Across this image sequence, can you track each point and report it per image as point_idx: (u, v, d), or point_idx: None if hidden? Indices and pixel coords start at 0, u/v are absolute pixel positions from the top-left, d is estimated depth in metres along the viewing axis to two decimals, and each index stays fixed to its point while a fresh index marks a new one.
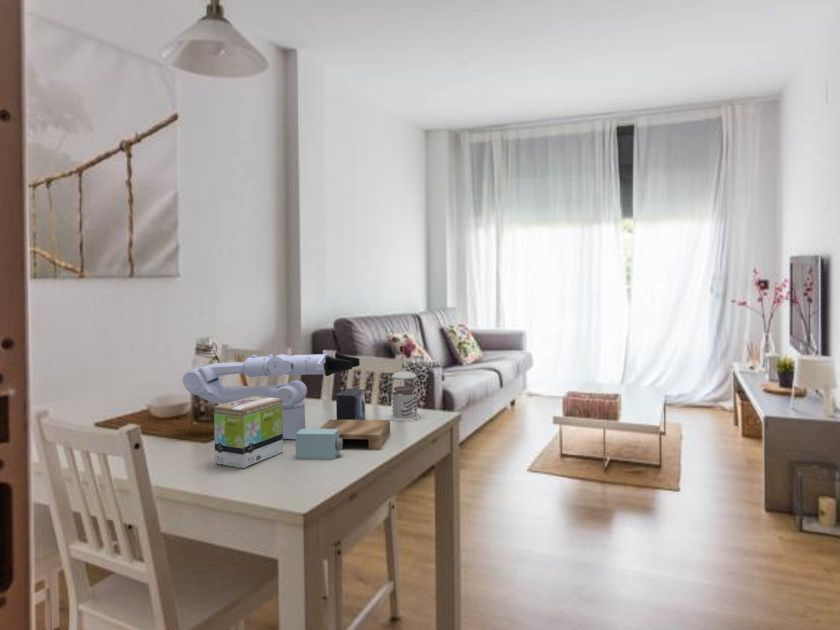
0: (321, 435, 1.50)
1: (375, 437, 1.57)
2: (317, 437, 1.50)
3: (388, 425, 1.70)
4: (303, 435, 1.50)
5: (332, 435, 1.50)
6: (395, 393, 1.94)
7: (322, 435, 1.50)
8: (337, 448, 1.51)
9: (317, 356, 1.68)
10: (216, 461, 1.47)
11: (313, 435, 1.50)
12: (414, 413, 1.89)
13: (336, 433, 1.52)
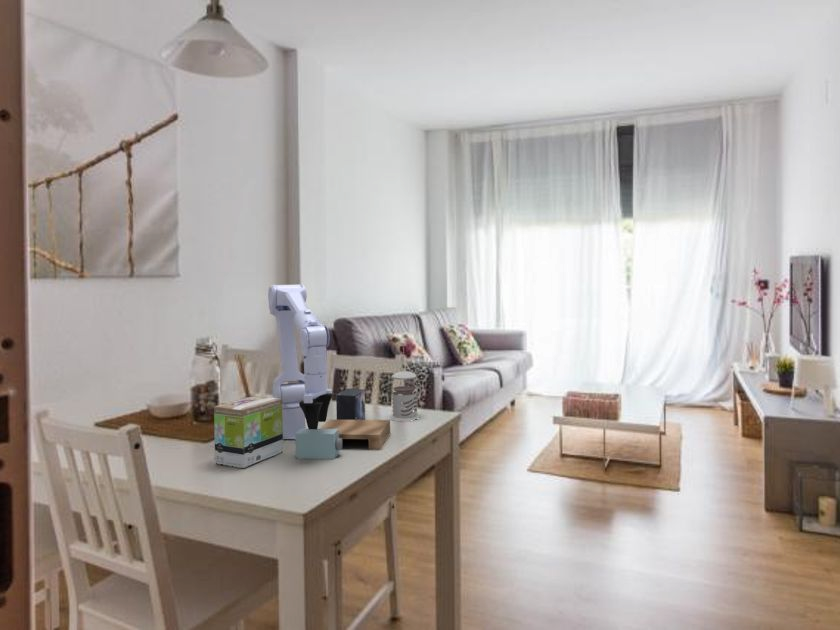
0: (321, 435, 1.50)
1: (375, 437, 1.57)
2: (317, 437, 1.50)
3: (388, 425, 1.70)
4: (303, 435, 1.51)
5: (332, 435, 1.50)
6: (395, 393, 1.94)
7: (322, 435, 1.50)
8: (337, 448, 1.51)
9: (323, 385, 1.50)
10: (216, 461, 1.47)
11: (313, 435, 1.50)
12: (414, 413, 1.89)
13: (336, 433, 1.52)
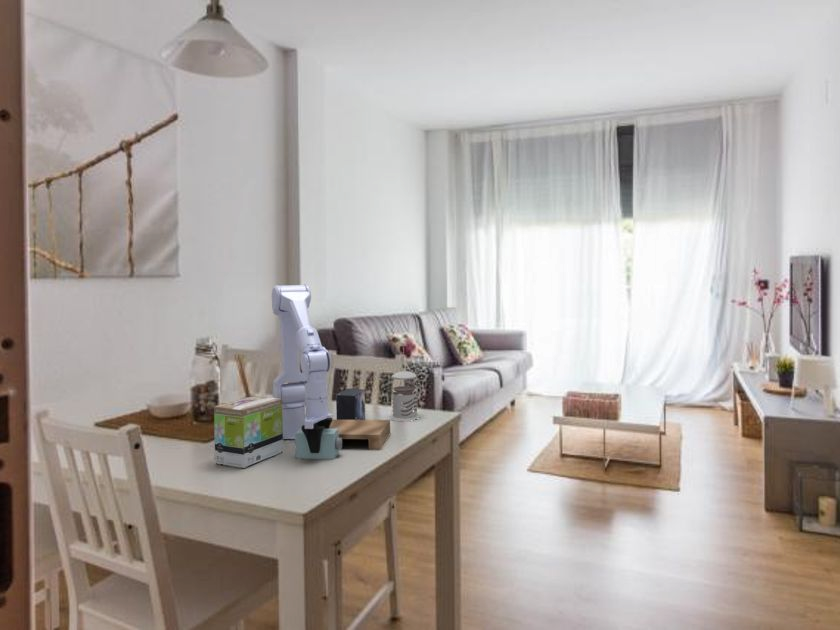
0: None
1: (375, 437, 1.57)
2: None
3: (388, 425, 1.70)
4: (303, 435, 1.50)
5: (332, 435, 1.50)
6: (395, 393, 1.94)
7: (322, 435, 1.50)
8: (337, 448, 1.51)
9: (324, 409, 1.50)
10: (216, 461, 1.47)
11: None
12: (414, 413, 1.89)
13: (336, 433, 1.52)
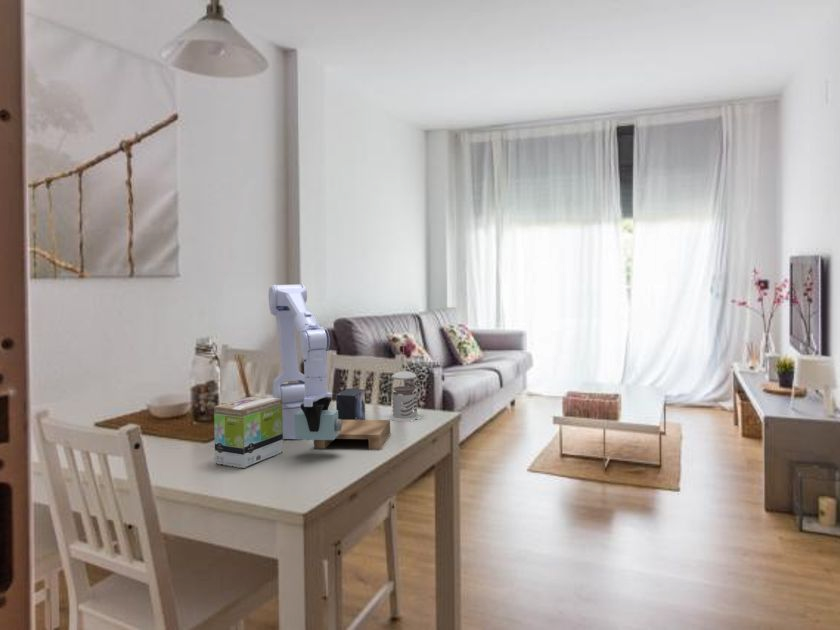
0: (320, 416, 1.50)
1: (375, 437, 1.57)
2: None
3: (388, 425, 1.70)
4: (302, 416, 1.50)
5: (331, 416, 1.49)
6: (395, 393, 1.94)
7: (321, 416, 1.50)
8: (336, 429, 1.51)
9: (323, 388, 1.50)
10: (216, 461, 1.47)
11: None
12: (414, 413, 1.89)
13: (335, 414, 1.52)
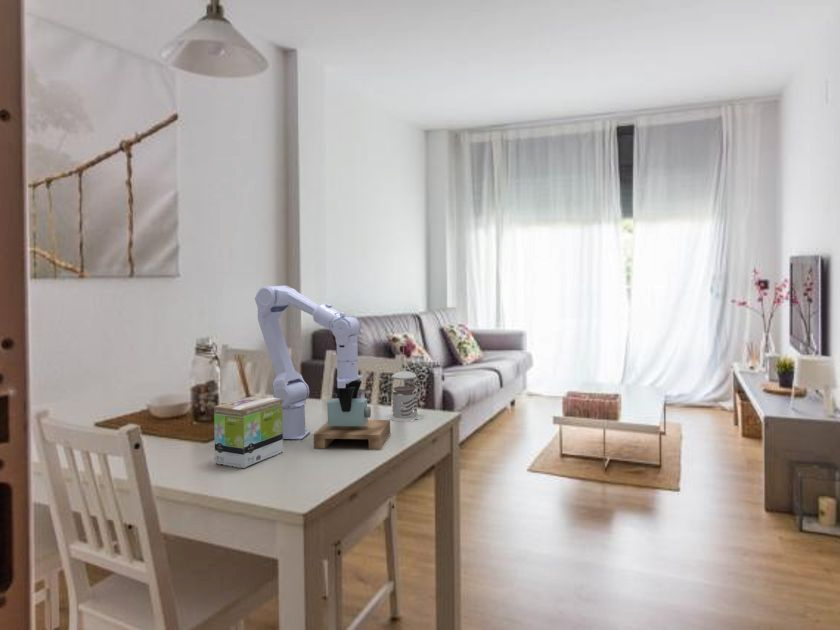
0: (351, 403, 1.61)
1: (375, 437, 1.57)
2: None
3: (388, 425, 1.70)
4: (334, 403, 1.62)
5: (361, 403, 1.61)
6: (395, 393, 1.94)
7: (352, 403, 1.61)
8: (366, 415, 1.62)
9: (354, 371, 1.61)
10: (216, 461, 1.47)
11: None
12: (414, 413, 1.89)
13: (365, 402, 1.63)
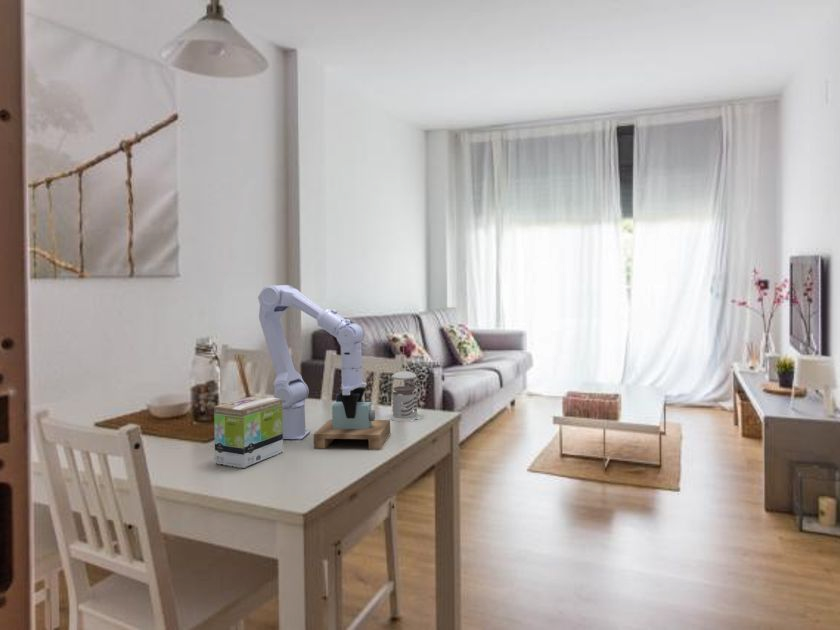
0: (356, 407, 1.63)
1: (375, 437, 1.57)
2: None
3: (388, 425, 1.70)
4: (339, 407, 1.63)
5: (366, 407, 1.62)
6: (395, 393, 1.94)
7: (357, 407, 1.63)
8: (370, 419, 1.64)
9: (359, 378, 1.63)
10: (216, 461, 1.47)
11: None
12: (414, 413, 1.89)
13: (369, 405, 1.65)
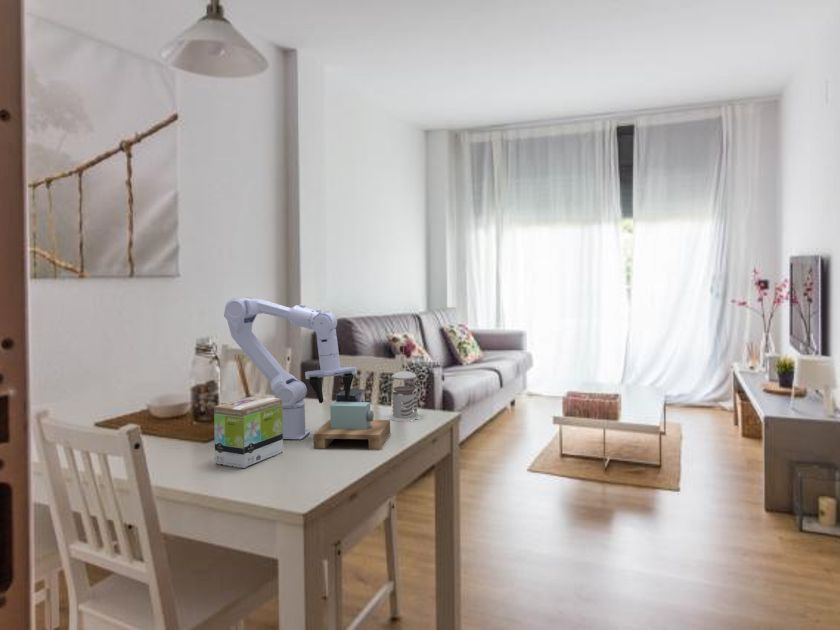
0: (353, 407, 1.63)
1: (375, 437, 1.57)
2: (349, 408, 1.63)
3: (388, 425, 1.70)
4: (337, 407, 1.64)
5: (363, 407, 1.62)
6: (395, 393, 1.94)
7: (354, 407, 1.63)
8: (368, 419, 1.63)
9: (322, 366, 1.67)
10: (216, 461, 1.47)
11: (346, 407, 1.63)
12: (414, 413, 1.89)
13: (367, 406, 1.64)
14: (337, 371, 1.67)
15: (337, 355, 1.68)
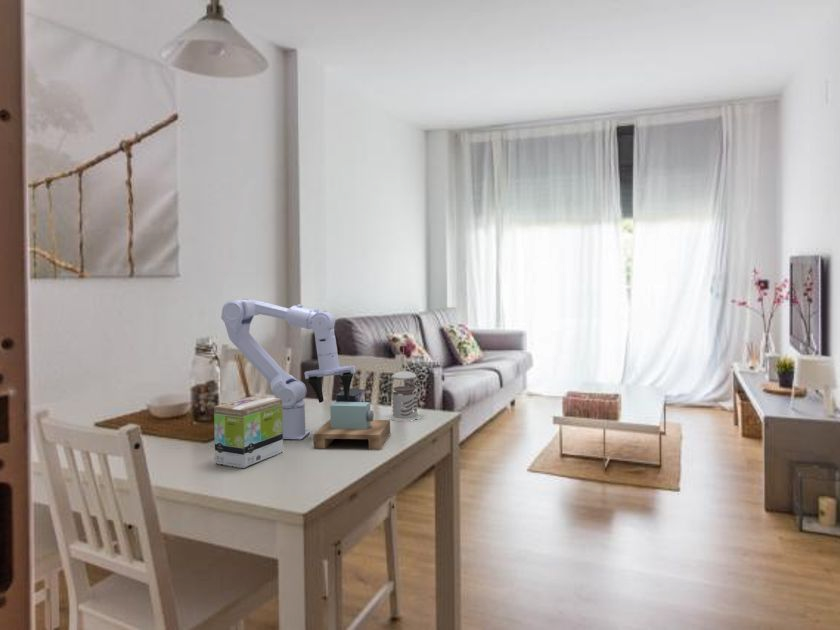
0: (353, 407, 1.63)
1: (375, 437, 1.57)
2: (349, 408, 1.63)
3: (388, 425, 1.70)
4: (337, 407, 1.64)
5: (363, 407, 1.62)
6: (395, 393, 1.94)
7: (354, 407, 1.63)
8: (368, 419, 1.63)
9: (321, 365, 1.67)
10: (216, 461, 1.47)
11: (346, 407, 1.63)
12: (414, 413, 1.89)
13: (367, 406, 1.64)
14: (336, 370, 1.67)
15: (335, 354, 1.68)
